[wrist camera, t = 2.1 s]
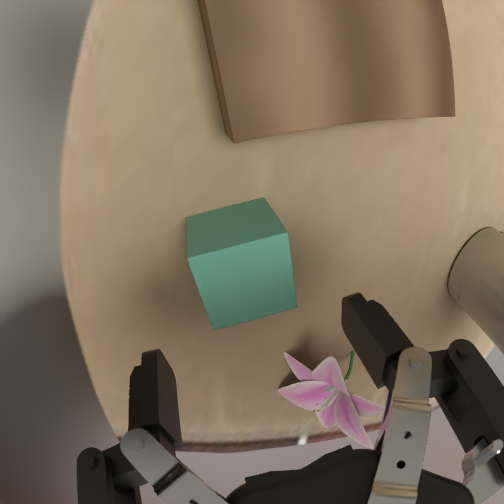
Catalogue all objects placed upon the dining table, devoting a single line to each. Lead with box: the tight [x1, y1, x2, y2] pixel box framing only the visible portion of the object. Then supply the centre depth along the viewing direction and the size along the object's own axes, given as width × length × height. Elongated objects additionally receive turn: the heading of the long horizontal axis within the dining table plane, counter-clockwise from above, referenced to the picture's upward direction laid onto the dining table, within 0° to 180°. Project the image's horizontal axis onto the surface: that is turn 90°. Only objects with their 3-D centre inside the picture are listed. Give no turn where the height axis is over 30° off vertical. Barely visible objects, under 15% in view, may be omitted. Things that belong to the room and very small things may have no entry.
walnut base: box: [198, 0, 455, 143], centre depth 12 cm, size 14×14×4 cm
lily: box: [278, 351, 385, 449], centre depth 26 cm, size 12×12×10 cm
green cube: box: [186, 198, 297, 330], centre depth 18 cm, size 5×5×5 cm
